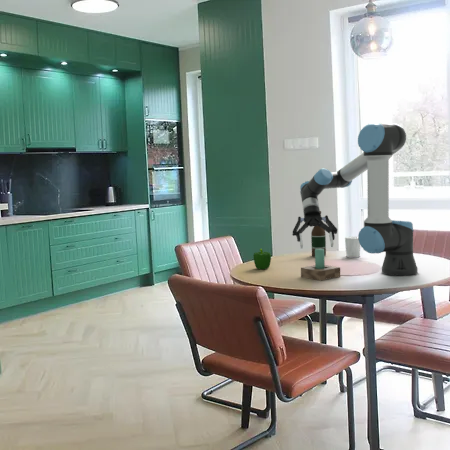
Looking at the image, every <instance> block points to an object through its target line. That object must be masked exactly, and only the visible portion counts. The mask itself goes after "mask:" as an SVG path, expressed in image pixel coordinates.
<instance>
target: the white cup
mask: <svg viewBox="0 0 450 450" xmlns="http://www.w3.org/2000/svg"><path fill="white" fill-rule="evenodd" d="M344 243H345V244H344V245H345V255H346V257H347V258H360V256H361V255H360V254H361V245H360V243H359V239H358V236H345V237H344Z"/></svg>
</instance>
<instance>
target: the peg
mask: <svg viewBox="0 0 450 450" xmlns="http://www.w3.org/2000/svg"><path fill="white" fill-rule="evenodd" d="M314 263H315V264H314V265H315V268H316V269H324V268H325V265H326V263H325V256H324V249H315V257H314Z"/></svg>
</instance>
